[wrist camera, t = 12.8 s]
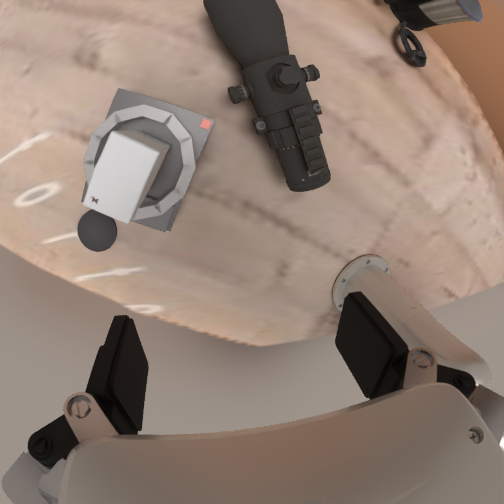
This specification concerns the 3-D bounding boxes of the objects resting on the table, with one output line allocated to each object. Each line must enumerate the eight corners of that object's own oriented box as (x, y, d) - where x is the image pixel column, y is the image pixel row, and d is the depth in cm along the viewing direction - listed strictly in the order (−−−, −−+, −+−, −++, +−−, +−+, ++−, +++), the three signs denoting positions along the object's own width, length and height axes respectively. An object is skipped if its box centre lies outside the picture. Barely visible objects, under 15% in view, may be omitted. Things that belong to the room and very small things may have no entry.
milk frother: (409, -11, 23) (464, -26, 10) (444, 58, 31) (503, 58, 18) (360, -8, 24) (418, -36, 11) (403, 71, 32) (472, 68, 19)
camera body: (212, 121, 31) (217, 119, 25) (172, 219, 36) (168, 241, 29) (127, 92, 27) (110, 84, 20) (93, 192, 31) (71, 209, 25)
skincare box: (150, 191, 29) (128, 228, 19) (118, 177, 27) (79, 206, 17) (174, 143, 27) (161, 152, 17) (140, 128, 26) (109, 129, 15)
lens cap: (121, 216, 34) (119, 218, 33) (112, 253, 36) (110, 256, 35) (84, 203, 32) (81, 205, 31) (77, 241, 34) (74, 244, 33)
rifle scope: (261, 189, 36) (283, 211, 28) (190, 20, 24) (190, -14, 15) (327, 163, 37) (366, 177, 28) (265, 1, 24) (288, -31, 15)
